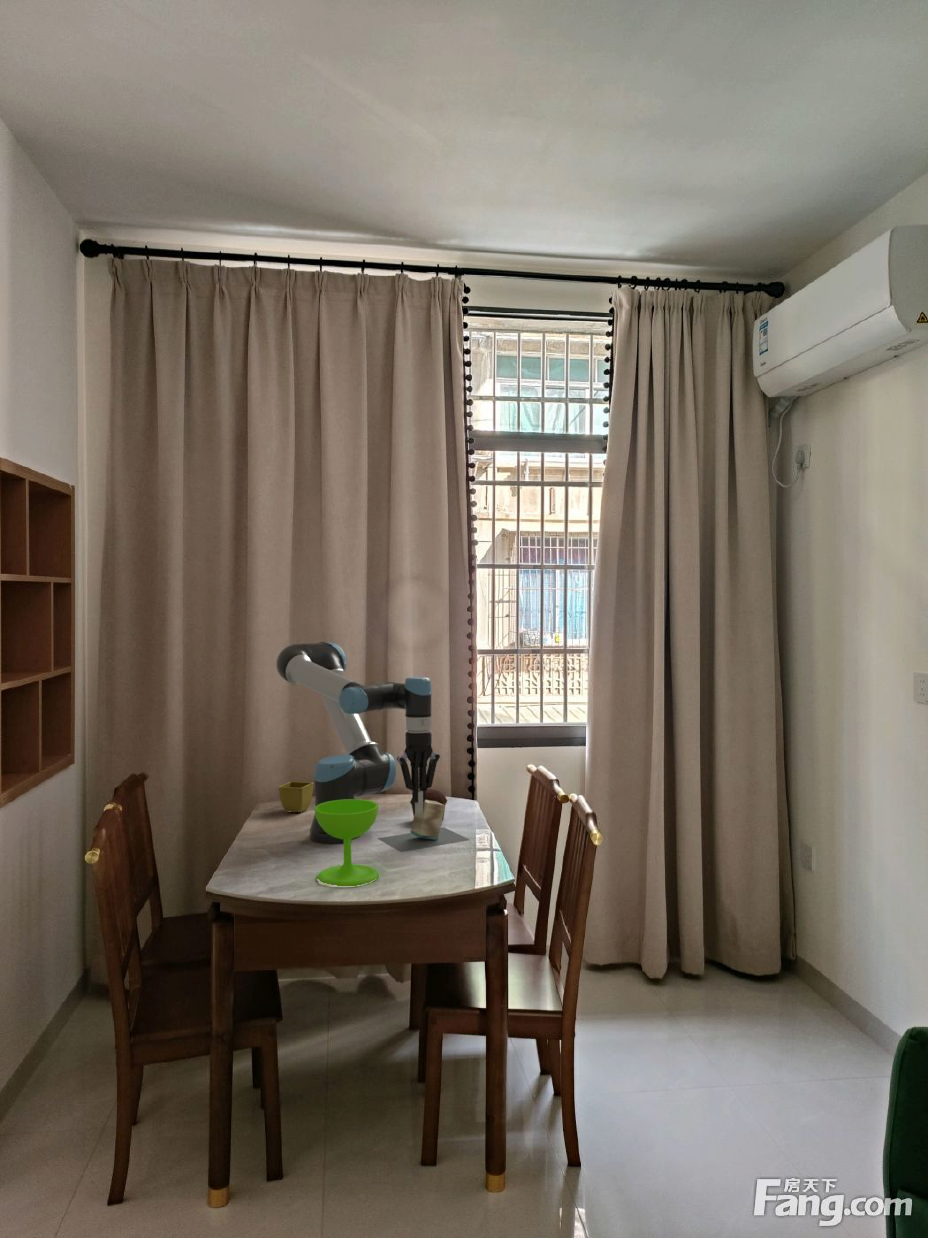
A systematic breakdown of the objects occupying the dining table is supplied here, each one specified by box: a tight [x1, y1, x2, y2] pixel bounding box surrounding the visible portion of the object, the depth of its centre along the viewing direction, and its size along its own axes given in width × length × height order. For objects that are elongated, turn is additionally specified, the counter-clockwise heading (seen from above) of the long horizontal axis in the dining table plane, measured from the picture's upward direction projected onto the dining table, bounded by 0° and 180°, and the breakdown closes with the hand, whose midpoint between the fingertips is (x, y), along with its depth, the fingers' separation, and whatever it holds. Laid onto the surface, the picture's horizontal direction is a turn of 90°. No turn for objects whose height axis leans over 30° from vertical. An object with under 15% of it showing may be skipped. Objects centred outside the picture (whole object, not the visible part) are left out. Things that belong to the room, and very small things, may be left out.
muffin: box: [409, 788, 448, 821], centre depth 270 cm, size 12×11×10 cm
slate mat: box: [377, 827, 471, 853], centre depth 249 cm, size 22×16×1 cm
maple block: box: [409, 800, 446, 840], centre depth 249 cm, size 6×6×10 cm
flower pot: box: [277, 781, 314, 813], centre depth 286 cm, size 9×9×9 cm
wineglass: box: [314, 798, 380, 886], centre depth 217 cm, size 16×16×18 cm
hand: (419, 813), depth 247 cm, fingers closed
